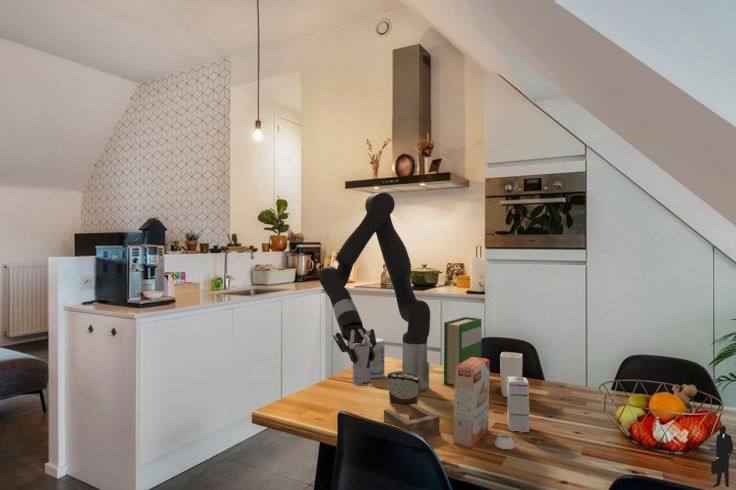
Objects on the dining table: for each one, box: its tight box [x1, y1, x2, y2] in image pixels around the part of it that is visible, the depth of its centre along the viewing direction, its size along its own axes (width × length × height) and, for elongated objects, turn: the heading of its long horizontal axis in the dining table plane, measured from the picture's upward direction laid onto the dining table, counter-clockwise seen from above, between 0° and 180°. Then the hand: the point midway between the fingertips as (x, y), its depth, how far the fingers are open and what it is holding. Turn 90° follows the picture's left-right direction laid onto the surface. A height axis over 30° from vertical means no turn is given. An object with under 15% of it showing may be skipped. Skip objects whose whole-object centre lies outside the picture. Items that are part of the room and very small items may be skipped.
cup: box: [499, 351, 523, 398], centre depth 159 cm, size 7×7×15 cm
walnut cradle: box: [383, 404, 442, 440], centre depth 128 cm, size 12×12×5 cm
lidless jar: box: [494, 432, 516, 450], centre depth 119 cm, size 5×3×5 cm
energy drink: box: [352, 343, 371, 387], centre depth 139 cm, size 5×5×12 cm
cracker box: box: [452, 357, 491, 448], centre depth 124 cm, size 14×6×21 cm, turn 148°
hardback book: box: [443, 316, 482, 386], centre depth 176 cm, size 18×7×24 cm, turn 142°
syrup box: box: [506, 376, 530, 433], centre depth 131 cm, size 6×6×14 cm
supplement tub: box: [363, 337, 385, 379], centre depth 183 cm, size 10×10×15 cm
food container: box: [385, 370, 422, 408], centre depth 151 cm, size 12×6×10 cm, turn 65°
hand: (364, 360), depth 137 cm, fingers closed on energy drink, 5 cm apart
